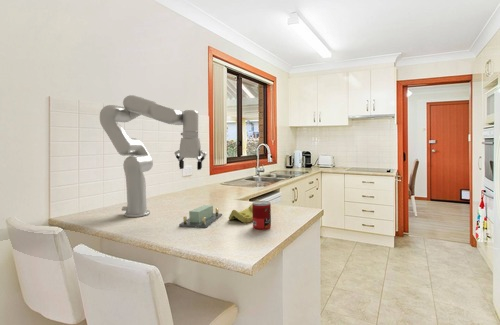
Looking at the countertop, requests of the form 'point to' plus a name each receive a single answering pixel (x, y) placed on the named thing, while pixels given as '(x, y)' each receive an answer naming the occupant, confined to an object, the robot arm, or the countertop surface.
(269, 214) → the canned food
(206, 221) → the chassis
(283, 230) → the countertop surface
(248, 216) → the plastic component
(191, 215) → the board block
